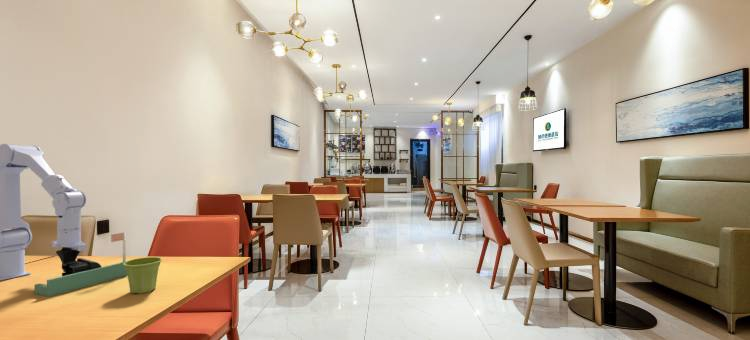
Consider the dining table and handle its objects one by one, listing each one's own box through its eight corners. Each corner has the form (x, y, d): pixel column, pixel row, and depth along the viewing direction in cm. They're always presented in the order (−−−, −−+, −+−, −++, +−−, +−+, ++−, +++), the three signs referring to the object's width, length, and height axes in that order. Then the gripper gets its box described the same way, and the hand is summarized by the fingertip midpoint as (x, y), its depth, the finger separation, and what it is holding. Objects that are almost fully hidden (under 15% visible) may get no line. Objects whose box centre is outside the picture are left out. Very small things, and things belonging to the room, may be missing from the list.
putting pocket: (34, 293, 101) (34, 242, 101) (116, 272, 122) (116, 230, 122) (49, 296, 98) (49, 244, 98) (130, 274, 119) (130, 231, 119)
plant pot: (166, 290, 103) (166, 260, 103) (127, 298, 96) (127, 267, 96) (156, 283, 109) (156, 255, 109) (119, 291, 102) (119, 261, 102)
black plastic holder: (102, 281, 112) (102, 259, 112) (74, 287, 106) (74, 265, 106) (88, 276, 117) (88, 256, 117) (61, 282, 111) (61, 260, 111)
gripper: (40, 229, 112) (40, 272, 112) (68, 232, 107) (68, 277, 107) (66, 226, 118) (66, 266, 118) (94, 229, 113) (93, 271, 113)
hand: (68, 271), depth 113 cm, fingers closed, pressing on black plastic holder
